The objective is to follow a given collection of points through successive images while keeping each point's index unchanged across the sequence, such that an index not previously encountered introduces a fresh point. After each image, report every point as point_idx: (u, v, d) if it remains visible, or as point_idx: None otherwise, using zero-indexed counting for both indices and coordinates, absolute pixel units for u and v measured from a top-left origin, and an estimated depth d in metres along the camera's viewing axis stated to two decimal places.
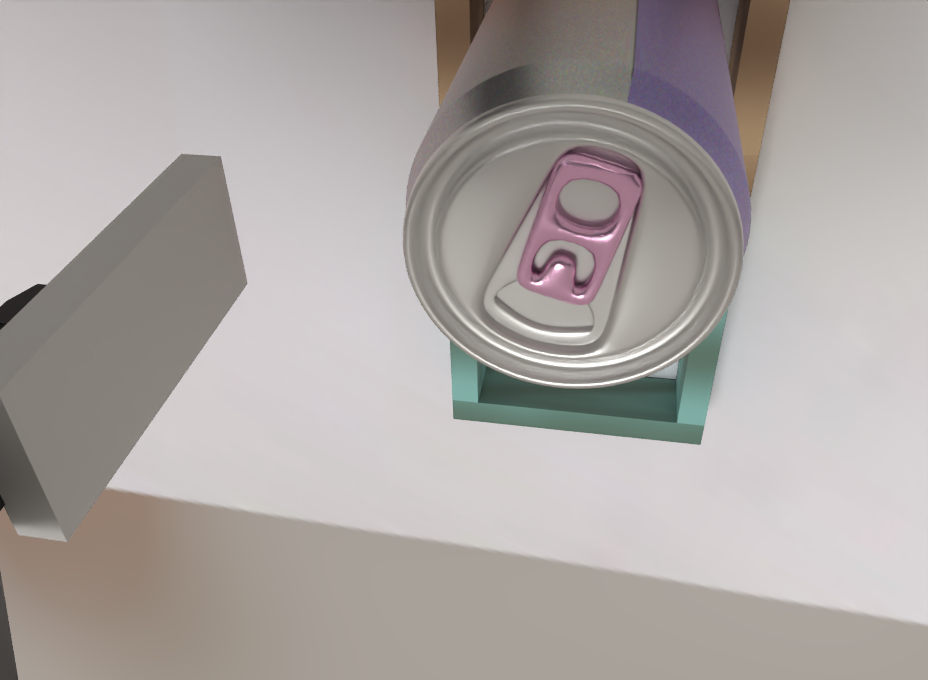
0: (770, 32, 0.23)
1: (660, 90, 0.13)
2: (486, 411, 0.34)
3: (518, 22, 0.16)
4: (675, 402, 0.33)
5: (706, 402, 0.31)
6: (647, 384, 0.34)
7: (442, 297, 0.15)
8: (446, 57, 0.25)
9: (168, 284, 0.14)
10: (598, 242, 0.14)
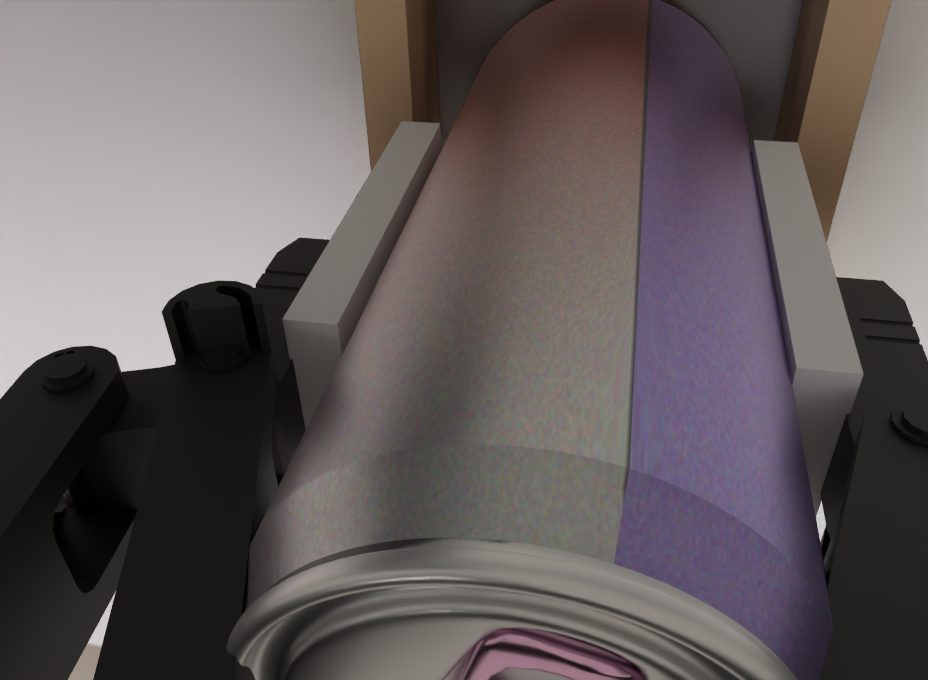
0: (822, 189, 0.17)
1: (680, 520, 0.07)
2: None
3: (438, 290, 0.09)
4: None
5: None
6: None
7: None
8: None
9: None
10: None
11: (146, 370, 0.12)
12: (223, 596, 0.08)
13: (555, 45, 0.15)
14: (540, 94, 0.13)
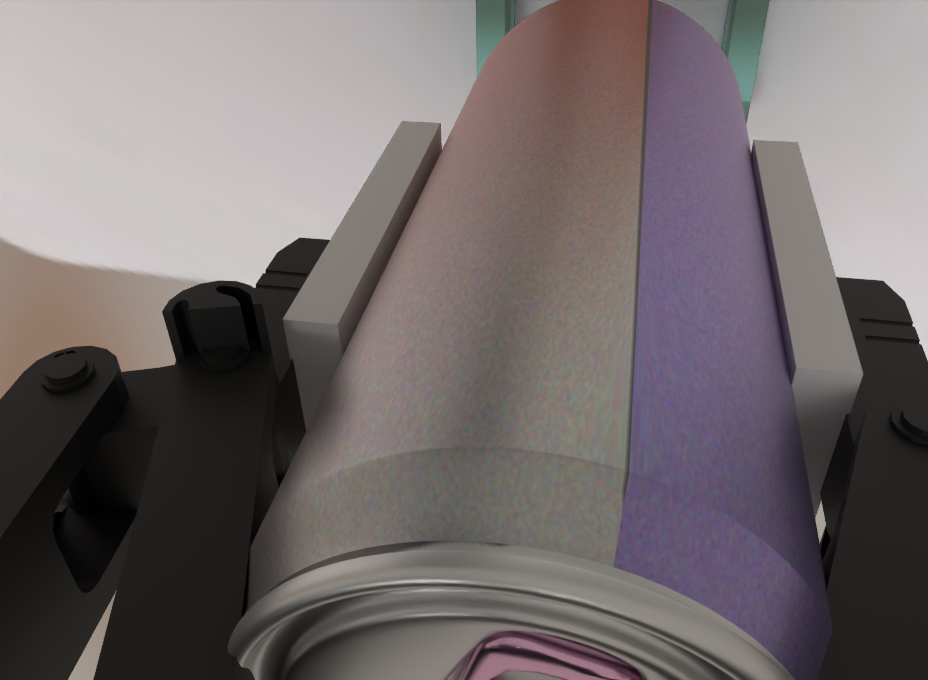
0: None
1: (681, 522, 0.07)
2: None
3: (438, 293, 0.09)
4: None
5: (754, 68, 0.29)
6: None
7: None
8: None
9: None
10: None
11: (146, 370, 0.12)
12: (222, 598, 0.08)
13: (556, 46, 0.15)
14: (540, 96, 0.13)
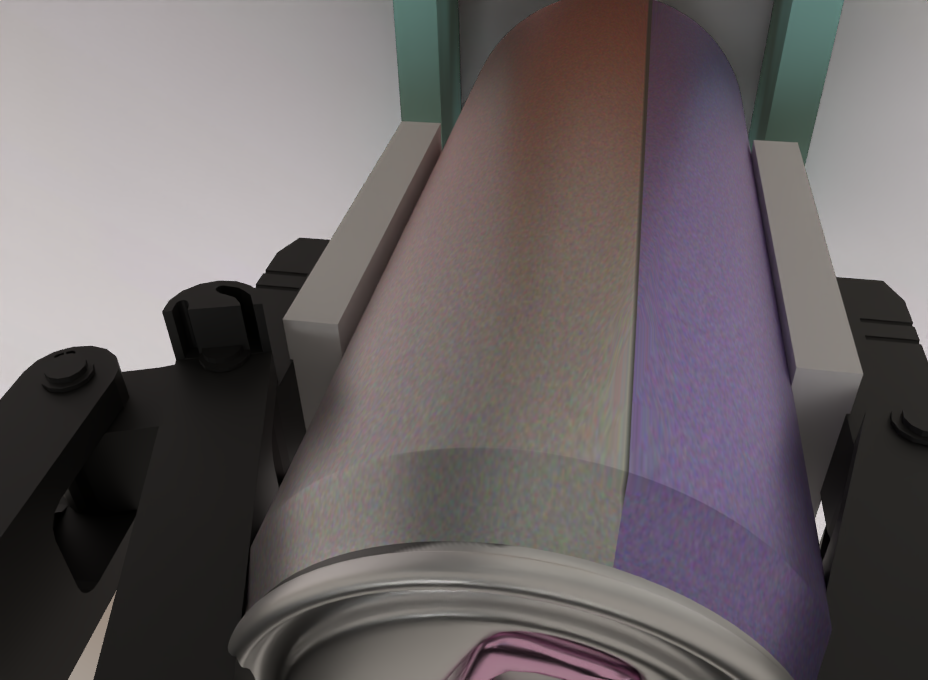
0: None
1: (680, 524, 0.07)
2: None
3: (438, 293, 0.09)
4: None
5: None
6: None
7: None
8: None
9: None
10: None
11: (146, 370, 0.12)
12: (223, 596, 0.08)
13: (556, 47, 0.15)
14: (540, 97, 0.13)
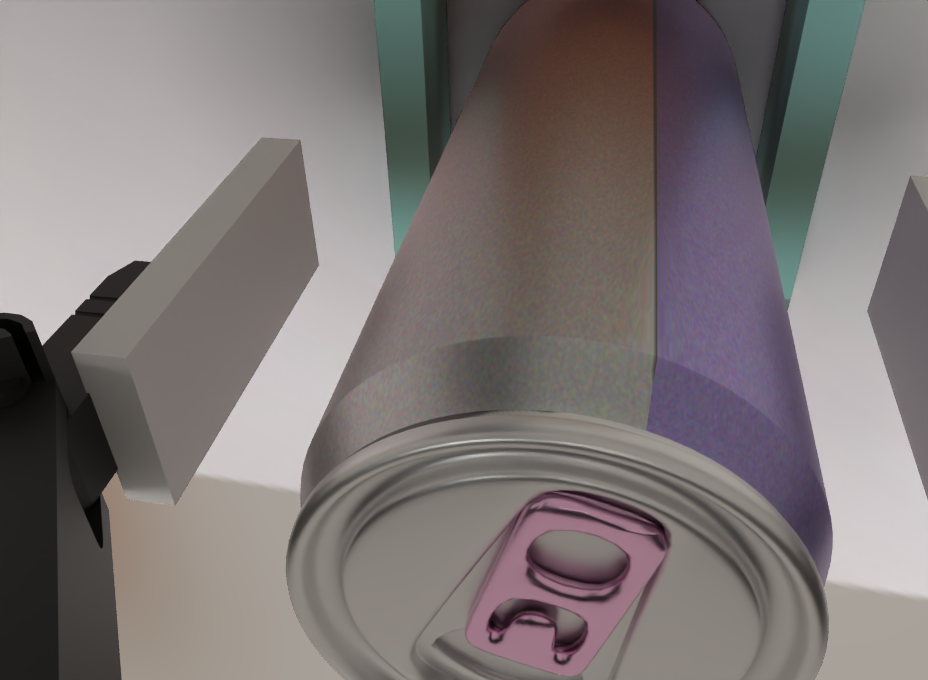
0: None
1: (702, 400, 0.08)
2: None
3: (477, 221, 0.10)
4: None
5: (796, 257, 0.20)
6: None
7: (354, 638, 0.10)
8: None
9: (257, 262, 0.14)
10: (593, 609, 0.09)
11: None
12: (35, 625, 0.08)
13: (569, 18, 0.16)
14: (558, 60, 0.14)
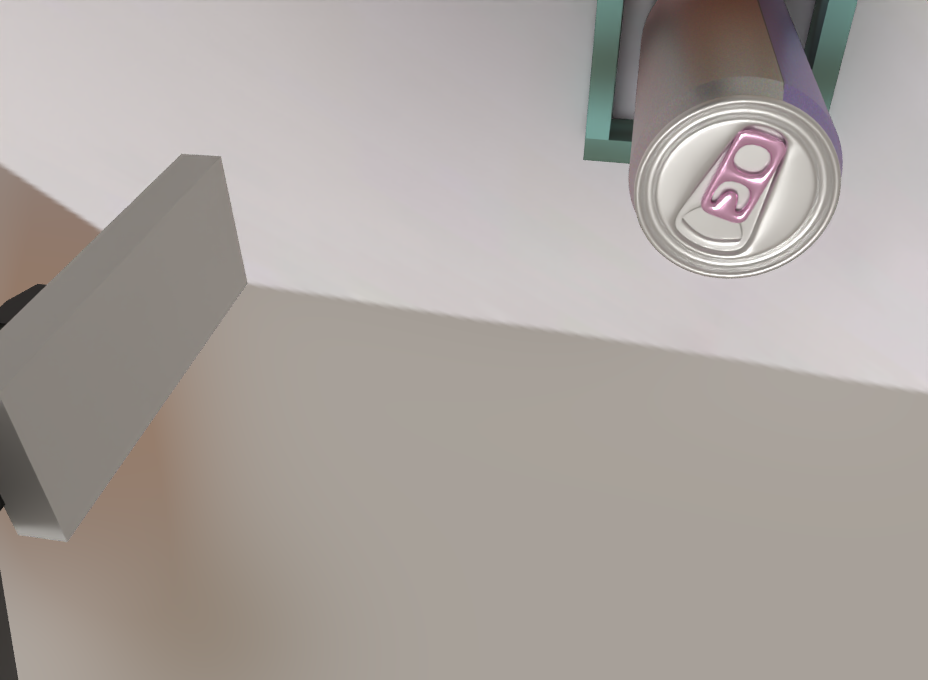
0: None
1: (799, 96, 0.23)
2: (615, 149, 0.37)
3: (701, 54, 0.26)
4: None
5: None
6: None
7: (650, 216, 0.25)
8: None
9: (168, 284, 0.14)
10: (755, 183, 0.24)
11: None
12: None
13: None
14: (712, 4, 0.30)
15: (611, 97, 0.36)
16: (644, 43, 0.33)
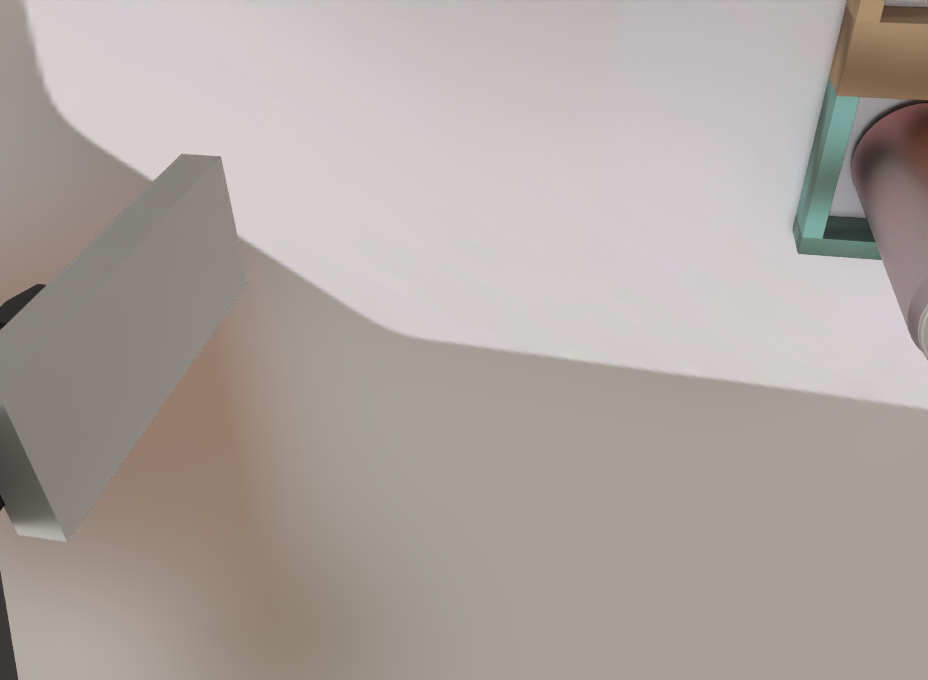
0: None
1: None
2: (827, 246, 0.45)
3: None
4: None
5: None
6: None
7: None
8: None
9: (168, 284, 0.14)
10: None
11: None
12: None
13: None
14: None
15: (829, 206, 0.43)
16: (871, 171, 0.40)
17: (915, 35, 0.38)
